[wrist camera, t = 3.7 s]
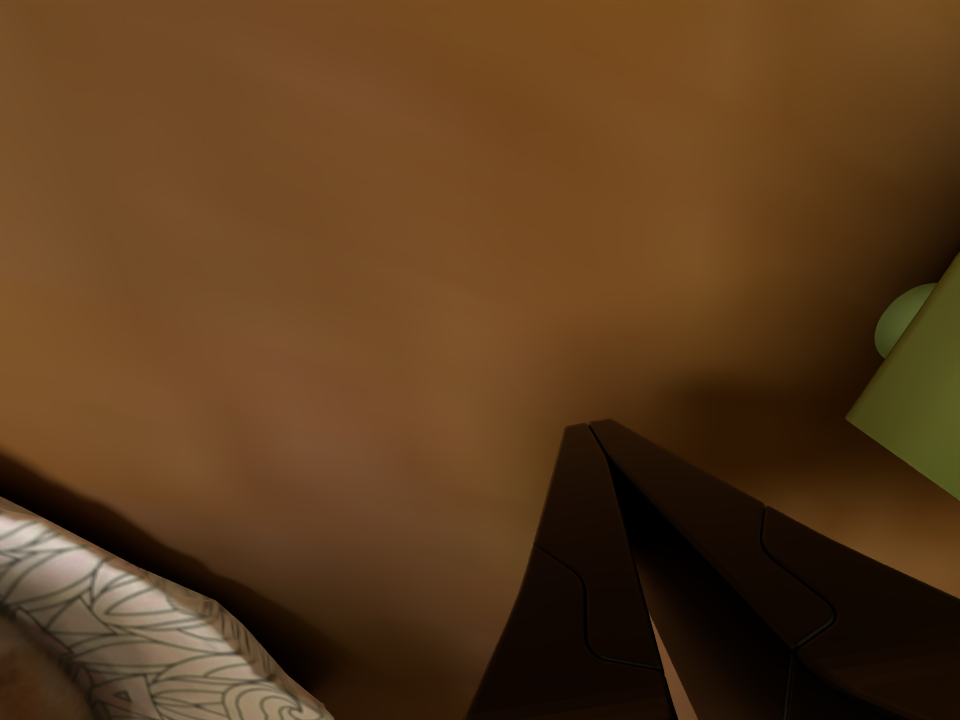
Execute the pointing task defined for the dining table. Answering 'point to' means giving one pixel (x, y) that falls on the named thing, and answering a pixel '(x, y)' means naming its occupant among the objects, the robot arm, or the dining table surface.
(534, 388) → the dining table surface
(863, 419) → the kettle
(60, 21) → the dining table surface
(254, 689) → the cookie jar
